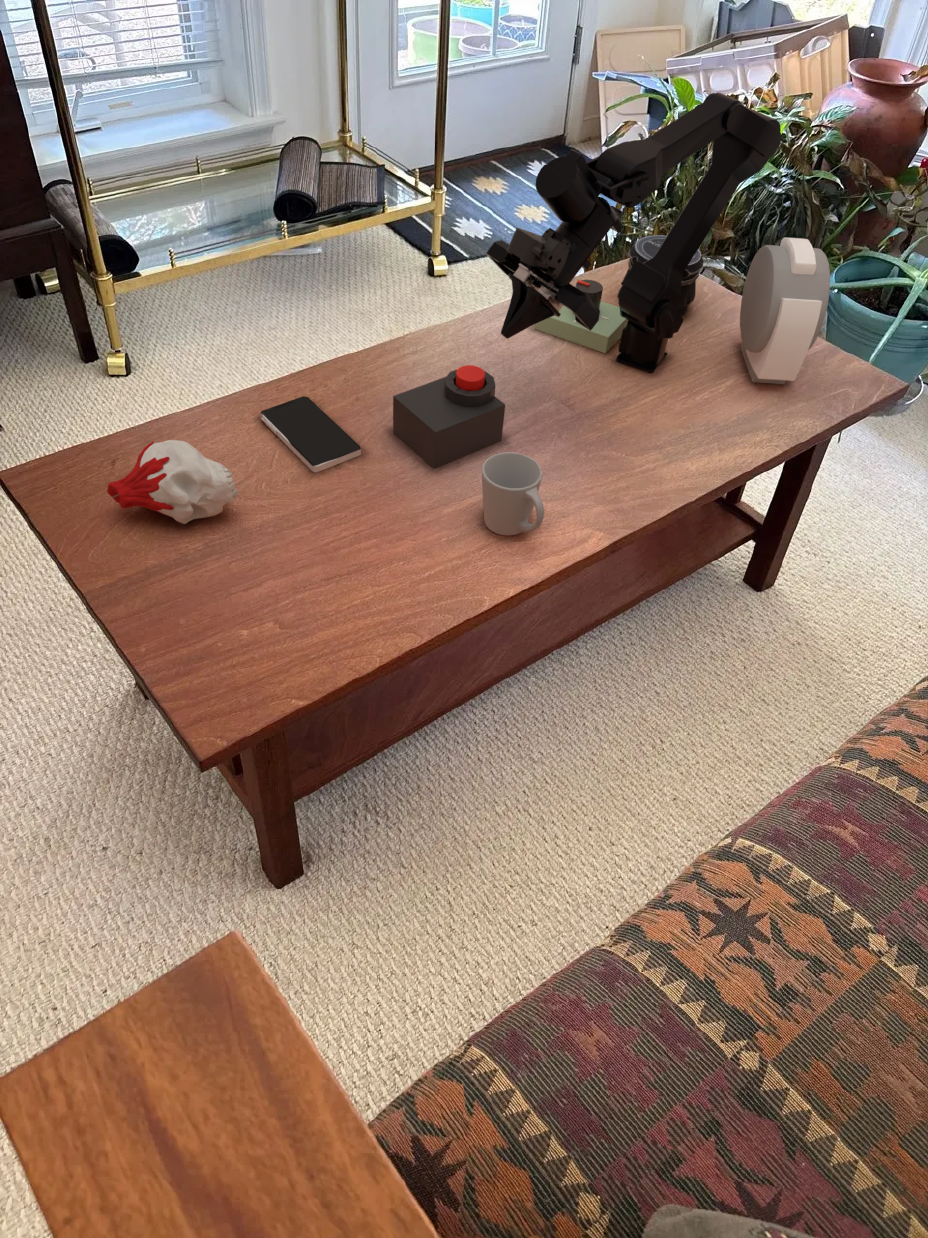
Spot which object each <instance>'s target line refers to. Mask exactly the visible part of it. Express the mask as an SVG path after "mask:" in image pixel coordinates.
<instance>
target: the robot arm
mask: <svg viewBox="0 0 928 1238" xmlns="http://www.w3.org/2000/svg"><path fill="white" fill-rule="evenodd" d="M781 131H782V130H781V123H780V121H779V120H777V119H776V118H773V117H771V116H768V115H766V114H764V113H763V112H759V111H757V110H754V109H752V108H751V107H748V106H745V105H744V104H743V103H742V102H741V101H740V100H738V99H735V98H733V97H731V96H729V95H726V94H724V93H722V92H716V93H715V92H712V93H710V94H708V95H707V96H706V97H705V99H704V100H703V102H702V103H700V104H699V105H697V106H695V107H693V108H692V109H690V111H688V112H686V113H685V114H682V115H681V116H680V117H678V118H676V119H675V120H673V121H672V122H670V123H669V124H667V125H665V126H663V127H662V128H661V129H660V130H659V129H658V131H656V132H654V133H653V134H652V135H650V136H648V137H646V138H643V139H640V140H639V139H638V140H629V141H623V142H620V143H618V144H616V145H613V146H610V147H609V148H608V147H607V148H606V149H605V150H604V151H602V152H601V153H600V154H599V155H598V156H596V157H593V158H592V159H589V160H586V158H585V156H584V155H583V154H582V153H581V152H578V151H577V150H575V149H573V148H571V149H569V151H568V152H567V153H566V154H565V155H564V156H563V155H562V156H557V157H555V158H553V159H551V160H550V161H548V162H547V163H546V164H544V165H543V166H542V167H541V168H540V169H539V170H538V173H537V175H536V178H535V190H536V192H537V194H538V195H539V197H540V198H541V199H542V200H543V201H544V203H545V204H546V205H547V206H548V208H549V209H550V210H551V211H552V213H553V215H555V216H556V218H557V219H558V220H559V221H561V222H560V224H559V225H558V227H557V228H556V229H553V228H551V227H549V228H548V229H546V230H545V231H544V232H543V234H542V235H540V234H537V233H535V232H532V231H530V230H526V229H523V228H520V227H516V228H515V230H514V233H513V235H512V237H511V240H510V242H509V243H507V242H506V241H504V240H502V239H500V240H496V241H493V243H492V244H491V245H490V247H489V248H488V250H487V251H486V253H485V255H486V256H488V258H489V259H490V261H492V262H493V263H494V265H496V266H497V267H498V269H500V271H501V272H502V273H504V274H505V275H506V276H507V277H508V279H509V280H510V281H511V288H512V291H511V298H510V302H509V304H508V305H509V306H508V309H507V312H506V315H505V318H504V321H503V324H502V327H501V330H500V335H501V336H502V337H504V338H505V339H507V340H508V339H510V338H512V337H514V336H515V335H517V334H519V333H522V331H525V330H526V329H528V328H530V327H532V326H535V324H536V323H538V322H541V321H543V320H545V319H547V318H550V317H552V316H557V317H559V316H560V315H561V314H560V313H559V311H560V309H561V308H562V307H563V305H564V306H565V307H567V308H568V309H570V310H571V311H573V313H574V314H575V320H576V321H577V322H578V323H579V324H581V325H582V326H584V327H585V328H587V329H588V330H590V331H591V330H592V329H593V327H594V326H595V325H596V323H597V322H598V321H599V315H600V310H599V308H598V307H597V306H596V305H595V304H594V303H593V301H592V300H591V299H590V298H589V297H588V295H587V294H585V293H584V292H582V291H580V290H579V289H577V288H576V286H575V285H573V284H571V282H572V281H573V280H574V278H575V277H576V276H577V274H578V273H579V272H580V270H581V269H583V270H585V271H588V270H589V269H590V267H591V266H592V263H591V262H590V260H589V259H590V258H591V256H592V254H593V253H594V251H595V250H596V249H597V248H598V246H599V245H600V244H601V242H602V241H603V240H604V238H605V237H606V236H607V234H608V233H609V232H610V231H611V230H613V231H614V232H616V233H617V234H620V233H621V232H622V231H623V220H622V219H623V217H622V216H623V210H621V209H619V207H615V206H614V205H611V204H610V203H609V201H608V200H607V199H606V198H608V199H609V200H611V201H612V202H614V203H618V204H620V205H622V206H623V207H626V208H628V209H632V208H635V207H637V206H639V205H640V204H641V203H642V202H643V201H644V200H645V199H647V198H648V197H649V196H650V195H651V194H653V193H654V192H655V191H656V190H657V189H658V187H659V184H660V182H661V179H662V176H664V175H665V174H666V173H667V172H669V171H670V170H671V169H673V168H674V167H676V166H677V165H679V164H680V163H682V162H683V161H685V160H687V159H689V158H690V157H691V156H692V155H694V154H695V153H697V152H699V151H700V150H702V149H704V148H706V146H708V145H709V144H711V143H712V147H711V149H712V150H711V161H710V166H709V167H708V169H707V171H706V172H705V174H704V176H703V177H702V179H701V181H700V182H699V184H698V185H697V187H696V188H695V190H694V192H693V193H692V195H691V197H690V198H689V200H688V202H686V205H685V206H684V208H683V210H682V211H681V213H680V215H679V216H678V218H677V219H676V221H675V222H674V224H673V226H672V227H671V229H670V231H669V232H668V234H667V235H666V236H667V237H666V239H665V240H664V242H663V244H662V245H661V247H660V248H659V250H658V252H657V253H656V255H655V256H654V257H653V258H651V259H649V260H648V261H646V262H644V263H642V262H640V261H637V262H635V263H634V264H633V266H632V268H631V270H630V272H629V274H628V275H627V277H626V278H625V279H624V278H623V279H624V280H622V281H621V283H620V285H621V286H620V288H619V290H618V294H617V299H618V304H617V305H618V307H619V308H620V315H621V316H622V317H624V318H626V319H627V320H629V321H628V322H627V325H626V326H625V327H624V328H623V330H622V335H621V337H620V339H619V345H618V353H619V354H618V355H617V356H616V359H615V361H616V362H618V363H621V364H624V365H626V366H629V367H632V368H635V369H638V370H641V371H644V372H647V373H650V374H653V373H655V371H657V369H658V368H659V367H660V365H662V363H663V362H664V361H665V360H666V359H667V357H668V352H666V350H667V345H668V341H669V339H673V337H674V335H675V334H677V333H679V331H680V329H681V327H682V325H683V323H684V320H685V319H684V317H683V316H681V315H680V313H679V312H678V311H677V309H676V308H675V306H676V304H677V302H678V300H679V298H680V295H681V282H682V274H683V272H684V271H685V269H686V267H687V266H688V264H689V263H690V261H691V260H692V258H693V256H694V255H695V253H696V252H697V250H698V249H700V247H701V245H702V244H703V242H704V241H705V239H706V238H707V237H708V235H709V232H710V231H711V230H712V228H713V227H714V226H715V223H716V222H717V220H718V219H719V217H720V216H721V214H722V212H723V211H724V209H725V207H726V206H727V204H728V203H729V202H730V201H731V198H732V196H733V195H734V194H735V192H736V190H737V189H738V187H739V185H740V184H741V183H743V182H745V181H747V180H748V179H750V178H752V177H753V176H755V175H757V174H758V173H760V172H761V171H762V170H763V168H764V167H765V166H766V164H767V163H768V162H769V161H770V159H771V158H772V157H773V156H774V154H775V153H776V152H778V151H777V150H778V149H779V147H780V145H781V142H782V132H781ZM600 195H602V196H604V197H606V198H604V197H602V196H600Z"/></svg>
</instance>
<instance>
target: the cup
mask: <svg viewBox="0 0 928 1238" xmlns="http://www.w3.org/2000/svg"><path fill="white" fill-rule="evenodd" d="M542 479H543V469H542V467H541V465H540V464H539V462H537V460H535V459H534V458H532V457H531V456H529V455H527V454H523V453H520V452H514V451H505V452H499V453H495V454H492V455H490V456H489V457H488V458H487V459H486V460H485V461H484V462H483V464H482V466H481V489H482V490H481V491H482V504H483V505H482V506H483V518H484V524H485V526H486V527H487V529H489V530H490V531H492V533H495V534H497V535H502V536H510V537H511V536H515V535H518V534H521V533H523V532H524V533H529V532H530V533H531V532H534V531H535V530H537V529H539V528H540V526H541V525H542V524H543V522H544V517H545V507H544V506H545V505H544V502H543V500H542V498H541V496H540V495H539V490H540V486H541V483H542ZM534 508H535V513H536V517H535V522H534V523H530V522H529V521H530V520H531V519H530V518H531V515H532V513H533V509H534Z"/></svg>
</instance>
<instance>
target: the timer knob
mask: <svg viewBox="0 0 928 1238" xmlns="http://www.w3.org/2000/svg"><path fill="white" fill-rule="evenodd" d="M575 287H576V288H577V289H579V290H580V291H582V292H584V293H585V294H587V295H588V297H589V298H590V299H591V300H592V301H593V303H594V304H595V305H596V306H597V307H598V308H600V302H601V301H602V296H603V289H604V286H603V285H602V284H601V282H598V281H596V280H593V279H581V280H580V279H578V280H577V281H576V283H575ZM572 312H573V311H572Z"/></svg>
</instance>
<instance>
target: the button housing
mask: <svg viewBox="0 0 928 1238" xmlns="http://www.w3.org/2000/svg"><path fill="white" fill-rule="evenodd" d="M457 370H458V368H457V369H455V370H454V369H453V370H452V371H449V373H447V375H446V376H444V377H442V378H439V379H436V380H433V381H430V382H428V383H425V384H422V385H419V386H417V387H414V388H411V389H408V390H405V391H403V392H400V393H397V394H395V395H392V400H393V401H392V433H393V434H394V435H395V436H396V437H397V438H398V439H399V440H400V441H401V442H403V443H404V444H405V445H406V446H407V447H408V448H410V450H411V451H413V452H414V453H415V454H416V455H417V456H418V457H419V458H421V459H422V460H423V461H424V462H425V463H426V464H427V465H428V466H430V467H431V469H433V470H435V469H437V468H441V467H444V466H445V465H447V464H450V463H452V462H455V461H457V460H459V459H462V458H464V457H467V456H469V455H471V454H474V453H476V452H478V451H481V450H483V449H486V448H488V447H490V446H491V447H492V446H493V445H495V444H498V443H499V442H502V439H503V429H504V422H505V411H506V404H505V403H504V402H503V401H502V400H500V399H499V398H498V397H497V396H496V381H495V377H494V376H493V375H491V374H490V373H489V372H487V371H486V370H484V372H485V383H484V387H483V388H482V389H480V390H477V391H466V390H463V389H460V388H458V387H457V386H456V371H457Z"/></svg>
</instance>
